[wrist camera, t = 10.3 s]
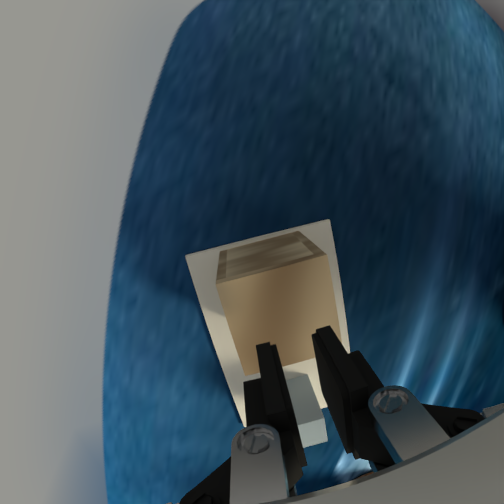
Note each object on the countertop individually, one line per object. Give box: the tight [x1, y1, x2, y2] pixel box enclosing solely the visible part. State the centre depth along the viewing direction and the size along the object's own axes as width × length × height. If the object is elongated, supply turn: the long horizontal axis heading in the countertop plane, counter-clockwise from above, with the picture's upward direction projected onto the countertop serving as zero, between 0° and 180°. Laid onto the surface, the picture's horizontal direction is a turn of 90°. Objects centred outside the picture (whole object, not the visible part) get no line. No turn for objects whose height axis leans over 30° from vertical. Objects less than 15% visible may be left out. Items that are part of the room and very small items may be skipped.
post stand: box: [185, 219, 350, 448], centre depth 21 cm, size 10×16×6 cm, turn 14°
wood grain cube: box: [215, 231, 342, 376], centre depth 19 cm, size 5×5×7 cm
